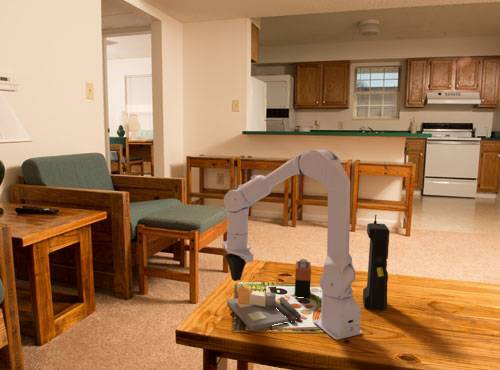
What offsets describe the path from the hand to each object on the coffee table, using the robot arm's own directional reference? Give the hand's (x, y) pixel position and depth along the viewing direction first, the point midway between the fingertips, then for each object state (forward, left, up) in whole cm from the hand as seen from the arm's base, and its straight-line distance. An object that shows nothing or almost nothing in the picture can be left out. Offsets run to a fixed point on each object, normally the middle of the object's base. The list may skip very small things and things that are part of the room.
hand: (236, 279), depth 110 cm
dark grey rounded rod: (-12, -11, -6) cm, 17 cm away
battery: (-4, -20, -6) cm, 21 cm away
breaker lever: (-7, -3, -4) cm, 9 cm away
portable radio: (-18, -35, -6) cm, 39 cm away
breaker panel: (-10, -2, -6) cm, 11 cm away
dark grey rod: (-11, -8, -6) cm, 15 cm away
